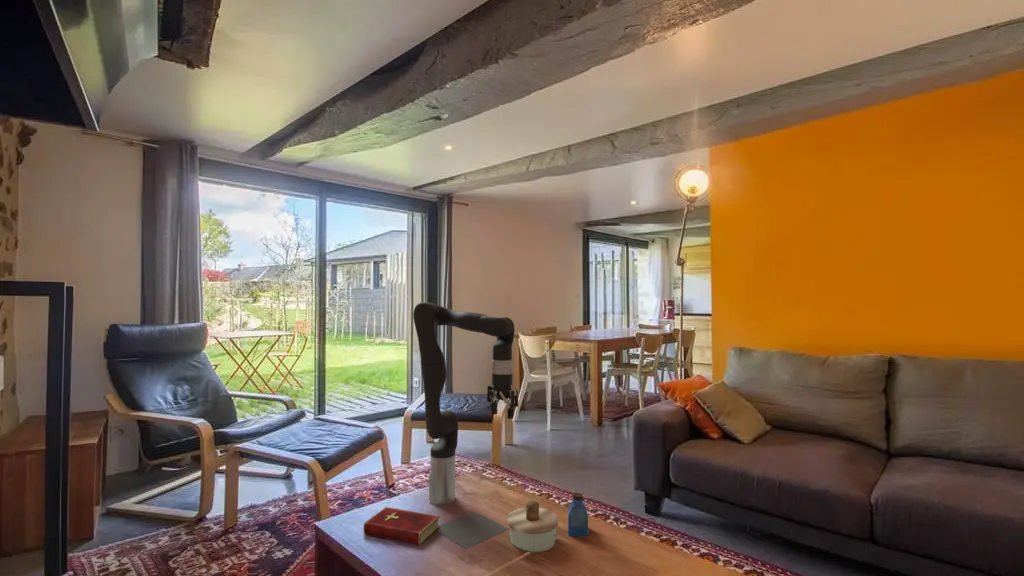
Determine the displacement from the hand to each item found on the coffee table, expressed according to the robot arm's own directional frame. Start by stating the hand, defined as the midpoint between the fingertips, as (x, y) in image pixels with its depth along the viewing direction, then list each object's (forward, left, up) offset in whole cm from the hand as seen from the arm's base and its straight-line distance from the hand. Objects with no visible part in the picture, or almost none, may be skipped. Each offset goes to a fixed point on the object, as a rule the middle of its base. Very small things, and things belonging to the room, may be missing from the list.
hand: (502, 416), depth 174 cm
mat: (+5, -19, -33) cm, 38 cm away
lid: (+24, -9, -27) cm, 37 cm away
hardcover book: (-9, -36, -33) cm, 50 cm away
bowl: (+24, -9, -33) cm, 42 cm away
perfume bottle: (+30, +6, -33) cm, 45 cm away
